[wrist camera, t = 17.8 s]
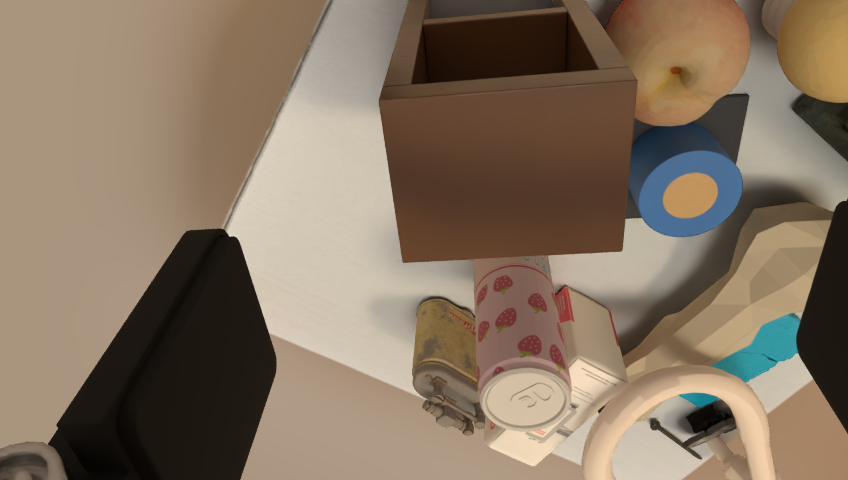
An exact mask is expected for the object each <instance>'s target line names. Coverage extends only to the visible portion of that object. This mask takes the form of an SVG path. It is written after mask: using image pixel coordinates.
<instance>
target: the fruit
mask: <svg viewBox="0 0 848 480" xmlns="http://www.w3.org/2000/svg"><path fill="white" fill-rule="evenodd" d="M605 31H606V33H607V34H608V36H609V37H610V39H611V40H612V42H613V43H614V45H615V46H616V48H617V49H618V51H619V52H620V54H621V56H622V57H623V59H624V60H625V62H626V63H627V65H628V66H629V68H630V69H631V71H632V72H633V74H634V75H635V77H636V78H637V80H638V85H637V96H636V107H635V118H636V119H638V120H639V121H641V122H644V123H647V124H650V125H653V126H678V125H685V124H687V123H689V122H692V121H694V120H696V119H698V118H699V117H701V116H702V115H703V114H705V113H706V112H707V111H709V109H710V108H711V107H712V106H713V104H714V103H715V102H716V101H717V100H718V99H720V98H722V97H723V96H725V95H727V94H728V93H729V92H730V91H731V90H732V89H733V88H734V87H735V86H736V85H737V83H738V81H739V80H740V78H741V76H742V75H743V73H744V71H745V68H746V65H747V62H748V59H749V53H750V42H751V39H750V32H749V26H748V23H747V21H746V19H745V16H744V14H743V12H742V9H741V8H740V7H739V6H738V4H737V3H736V2H735V1H734V0H624V1H623V2H622V3H621V4H620V5H619V7H618V8H617V9H616V10H615V12H614V13H613V14H612V16H611V18H610V21H609V23H608V25H607V28H606V30H605Z"/></svg>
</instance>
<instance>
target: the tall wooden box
mask: <svg viewBox="0 0 848 480" xmlns="http://www.w3.org/2000/svg"><path fill="white" fill-rule="evenodd" d="M637 85H638V80H637V78H636V77H635V75H634V74H633V72H632V71H631V69H630V68H629V66H628V65H627V63H626V62H625V60H624V59H623V57H622V56H621V54H620V52H619V51H618V49H617V48H616V46H615V45H614V43H613V42H612V40H611V39H610V37H609V36H608V34H607V33H606V31H605V30H604V28H603V27H602V25H601V24H600V22H599V21H598V19H597V18H596V16H595V15H594V13H593V12H592V10H591V9H590V7H589V6H588V4H587V3H586V1H585V0H553V8H547V9H536V10H525V11H514V12H503V13H492V14H481V15H470V16H459V17H448V18H437V19H430V11H429V0H408V4H407V7H406V10H405V14H404V17H403V21H402V24H401V27H400V31H399V34H398V37H397V41H396V44H395V48H394V51H393V54H392V58H391V61H390V65H389V68H388V71H387V75H386V78H385V82H384V85H383V88H382V91H381V95H380V98H379V107H380V113H381V120H382V127H383V134H384V140H385V147H386V154H387V160H388V167H389V174H390V181H391V187H392V194H393V201H394V208H395V214H396V221H397V228H398V234H399V241H400V248H401V255H402V261H403V263H410V262H429V261H448V260H467V259H486V258H505V257H525V256H544V255H563V254H582V253H601V252H620V251H622V249H623V239H624V228H625V217H626V206H627V195H628V184H629V173H630V162H631V151H632V140H633V129H634V118H635V107H636V96H637Z"/></svg>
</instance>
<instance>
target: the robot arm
mask: <svg viewBox="0 0 848 480" xmlns="http://www.w3.org/2000/svg"><path fill="white" fill-rule="evenodd" d="M796 345H797V350H798V354H799V356H800V358H801V359H802V361H803V363H804V364H805V366H806V368H807V369H808V371H809V372H810V374H811V376H812V377H813V379H814V380H815V382H816V384H817V385H818V387H819V388H820V390H821V391H822V393H823V395H824V396H825V398H826V400H827V401H828V403H829V404H830V406H831V408H832V409H833V411H834V412H835V414H836V415H837V417H838V419H839V420H840V422H841V424H842V425H843V427H844V428H845V430H846V432H847V433H848V199H847V201H842V202H840V203H839V204H838V205H837V206H836V209H835V211H834V214H833V217H832V220H831V224H830V227H829V230H828V233H827V237H826V240H825V243H824V246H823V250H822V253H821V256H820V259H819V263H818V266H817V269H816V272H815V276H814V279H813V282H812V285H811V289H810V292H809V295H808V298H807V302H806V305H805V308H804V311H803V315H802V318H801V321H800V324H799V328H798V331H797V335H796ZM275 374H276V355H275V351H274V348H273V345H272V342H271V339H270V335H269V332H268V329H267V326H266V323H265V320H264V317H263V314H262V310H261V307H260V304H259V301H258V298H257V295H256V292H255V289H254V286H253V282H252V279H251V276H250V273H249V270H248V267H247V264H246V261H245V258H244V254H243V251H242V248H241V245H240V243H239V240H238V239H237V238H236V237H234V236H233V237H229V236H228V234H227V232H226V231H225V230H223V229H205V230H190V231H187V232H186V233H185V234H184V235H183V236H182V237H181V239H180V241H179V242H178V243H177V245H176V246H175V248H174V249H173V251H172V253H171V254H170V255H169V257H168V258H167V260H166V261H165V263H164V264H163V266H162V267H161V269H160V270H159V272H158V273H157V275H156V276H155V278H154V280H153V281H152V282H151V284H150V285H149V287H148V288H147V290H146V291H145V293H144V294H143V296H142V297H141V299H140V300H139V302H138V303H137V305H136V306H135V308H134V309H133V311H132V312H131V314H130V315H129V317H128V318H127V320H126V321H125V323H124V324H123V326H122V327H121V329H120V330H119V332H118V333H117V335H116V336H115V338H114V339H113V341H112V342H111V344H110V345H109V347H108V348H107V350H106V351H105V353H104V354H103V356H102V357H101V359H100V360H99V362H98V363H97V365H96V366H95V368H94V369H93V371H92V372H91V374H90V375H89V377H88V378H87V380H86V381H85V383H84V384H83V386H82V387H81V389H80V390H79V392H78V393H77V395H76V396H75V398H74V399H73V401H72V402H71V404H70V405H69V407H68V408H67V410H66V411H65V413H64V414H63V416H62V417H61V419H60V420H59V422H58V423H57V427H58V430H57V431H56V433H55V434H54V436H53V437H52V439H51V440H50V442H49V443H48V445H47V444H45V443H43V442H24V443H19V444H14V445H9V446H6V447H4V448H1V449H0V480H240V479H241V476H242V473H243V470H244V467H245V463H246V461H247V458H248V455H249V452H250V449H251V446H252V443H253V440H254V437H255V434H256V431H257V428H258V425H259V422H260V419H261V416H262V413H263V410H264V407H265V404H266V401H267V398H268V395H269V392H270V389H271V386H272V383H273V381H274V378H275Z"/></svg>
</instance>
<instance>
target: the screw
mask: <svg viewBox="0 0 848 480" xmlns="http://www.w3.org/2000/svg"><path fill="white" fill-rule="evenodd" d="M650 427H651V429H652V430H657V429H658V430H659V431H661V432H662V433H664V434H665V435H666V436H668V437H669V438H670V439H672V440H673V441H675V442H676V443H677V444H679V445H680V446H681V447H683V445H682V442H680V441H679V440H678V439H676V438H675V437H673V436H672V435H671V434H669V433H668V432H667V431H665V430H664V429H663V428H661V427H660V422H659V421H657V420H654V421H651V423H650ZM683 448H684V447H683ZM684 449H685V450H687V451H688V452H690V453H691V454H692V455H694V456H695V457H697V458H698V459H702V458H701V457H700V456H699V455H698V454H697V453H695V452H694V451H693V450H691V449H690V448H684Z"/></svg>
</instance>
